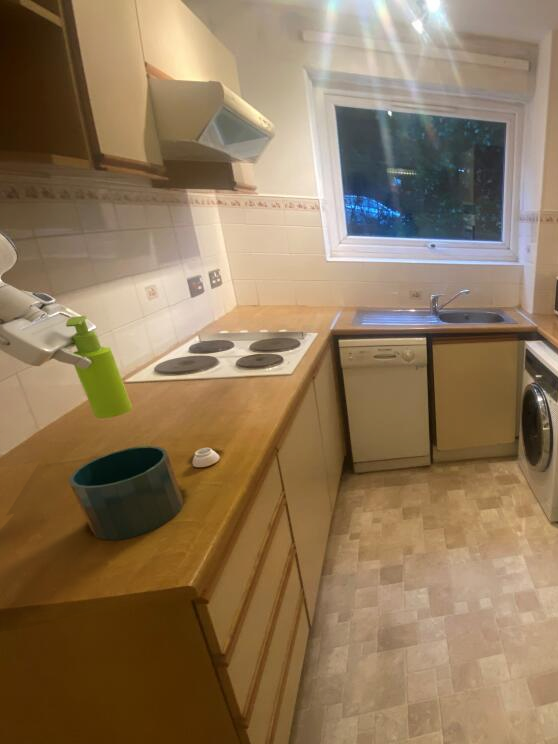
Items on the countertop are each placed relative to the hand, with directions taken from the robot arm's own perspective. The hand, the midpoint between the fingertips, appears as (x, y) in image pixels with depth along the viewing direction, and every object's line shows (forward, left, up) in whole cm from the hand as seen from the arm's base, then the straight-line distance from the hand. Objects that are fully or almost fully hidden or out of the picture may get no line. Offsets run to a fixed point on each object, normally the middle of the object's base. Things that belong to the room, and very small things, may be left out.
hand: (98, 359), depth 85 cm
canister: (+5, -19, -25) cm, 32 cm away
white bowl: (+13, -3, -26) cm, 29 cm away
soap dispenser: (-1, 0, -12) cm, 12 cm away
